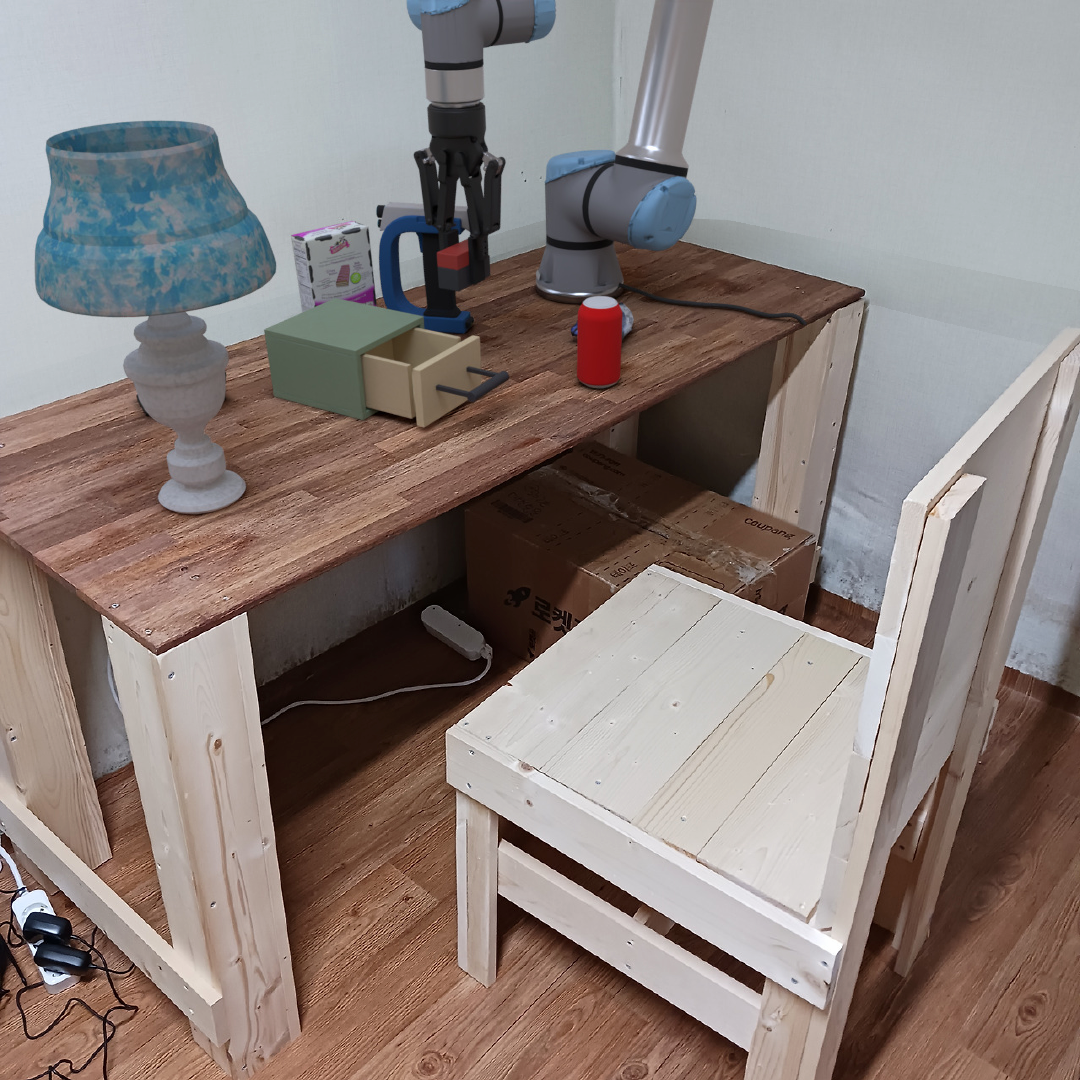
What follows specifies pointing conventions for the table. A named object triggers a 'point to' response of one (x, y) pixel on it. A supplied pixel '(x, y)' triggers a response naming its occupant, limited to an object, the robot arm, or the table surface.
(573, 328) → the snack package
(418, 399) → the drawer
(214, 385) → the table lamp
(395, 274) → the handheld scanner
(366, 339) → the cabinet
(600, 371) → the beverage can
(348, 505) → the table surface
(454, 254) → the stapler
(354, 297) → the candy bar box
